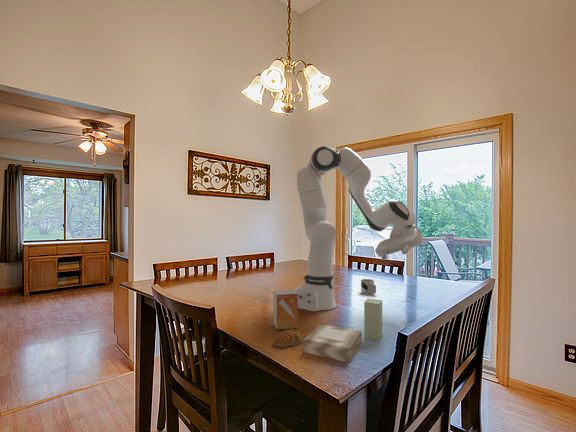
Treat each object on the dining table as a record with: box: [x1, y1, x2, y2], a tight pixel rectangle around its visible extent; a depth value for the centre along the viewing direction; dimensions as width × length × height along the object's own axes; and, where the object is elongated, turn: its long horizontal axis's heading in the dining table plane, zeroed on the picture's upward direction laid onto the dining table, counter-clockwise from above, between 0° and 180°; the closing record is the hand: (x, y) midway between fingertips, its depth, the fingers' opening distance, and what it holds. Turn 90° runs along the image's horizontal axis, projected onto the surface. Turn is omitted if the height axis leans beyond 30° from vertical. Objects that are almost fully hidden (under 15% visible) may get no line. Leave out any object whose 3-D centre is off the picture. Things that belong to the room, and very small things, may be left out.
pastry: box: [272, 329, 303, 348], centre depth 98 cm, size 9×7×4 cm
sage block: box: [363, 298, 383, 341], centre depth 103 cm, size 5×5×12 cm
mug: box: [360, 278, 377, 295], centre depth 159 cm, size 10×7×7 cm
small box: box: [273, 289, 299, 330], centre depth 112 cm, size 8×6×13 cm
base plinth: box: [303, 324, 363, 363], centre depth 94 cm, size 14×14×4 cm
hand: (393, 255), depth 123 cm, fingers open, 8 cm apart
